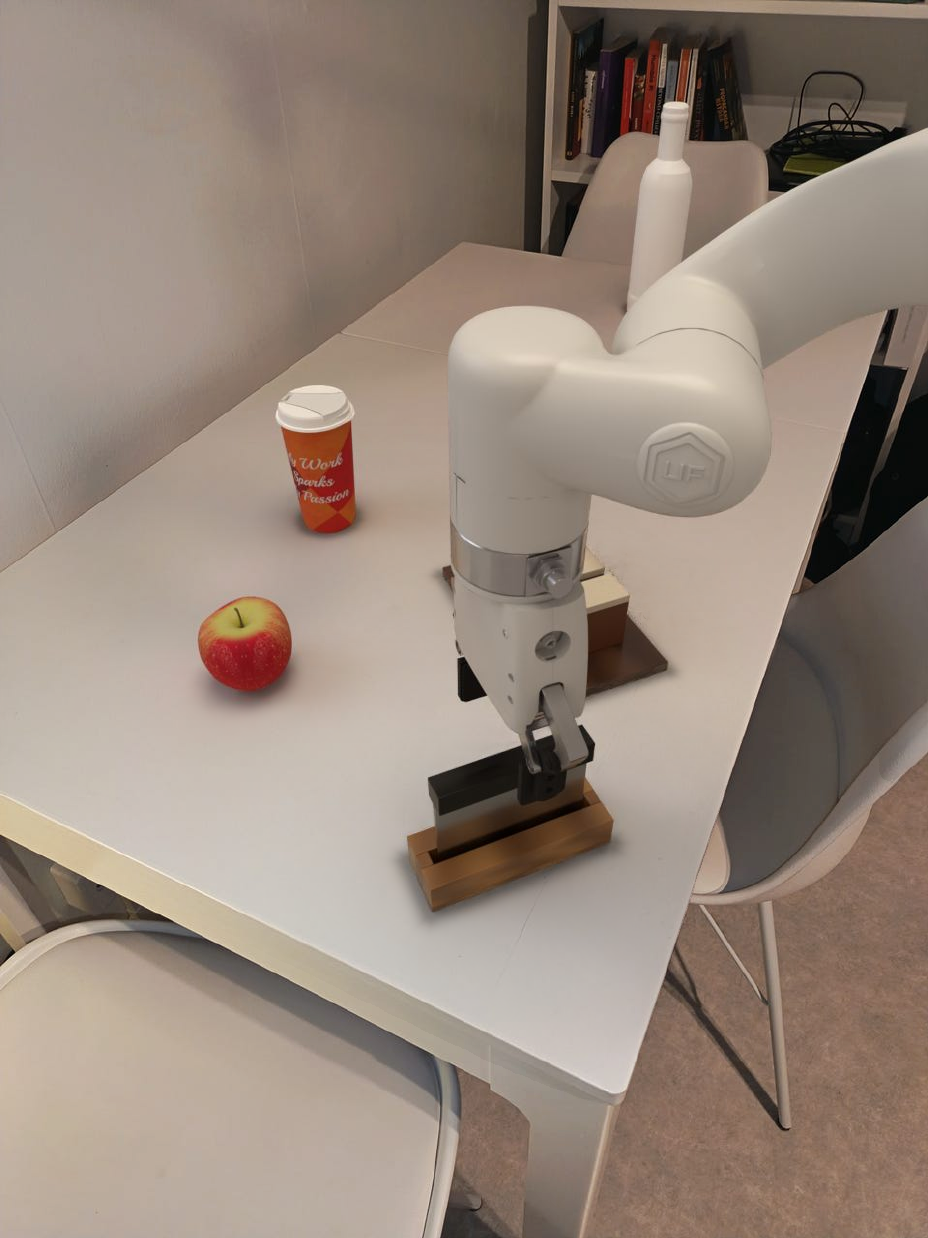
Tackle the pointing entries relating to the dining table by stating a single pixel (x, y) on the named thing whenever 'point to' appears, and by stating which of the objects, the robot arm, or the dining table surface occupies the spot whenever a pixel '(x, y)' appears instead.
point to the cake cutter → (496, 800)
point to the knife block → (508, 853)
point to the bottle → (662, 206)
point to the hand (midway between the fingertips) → (508, 742)
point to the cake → (617, 660)
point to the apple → (246, 643)
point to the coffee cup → (320, 454)
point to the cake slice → (605, 611)
